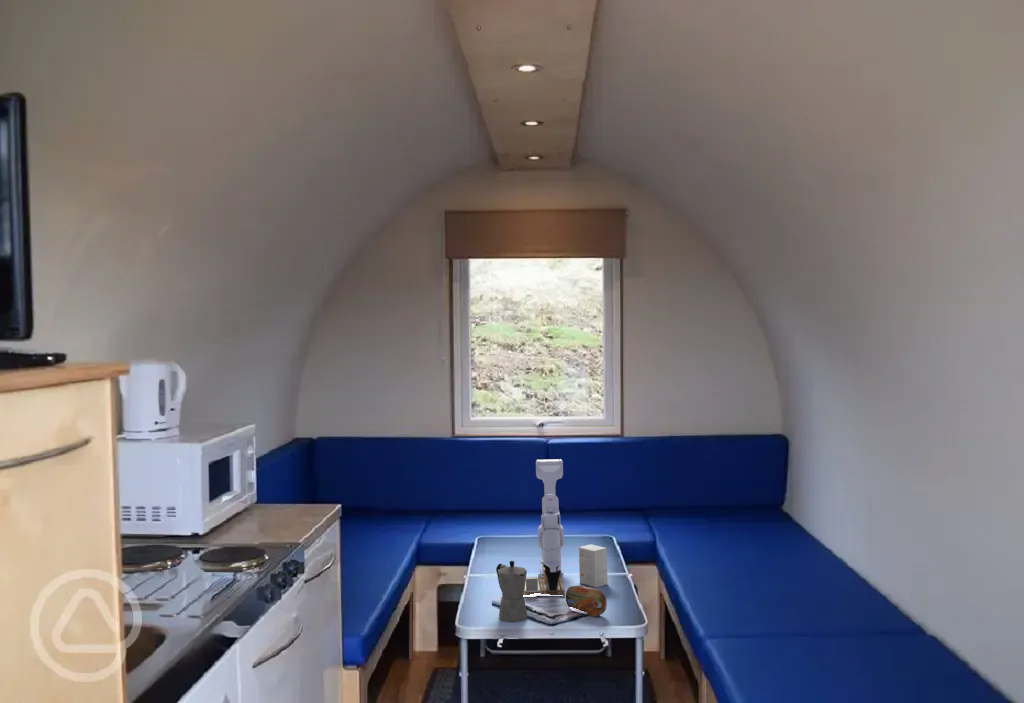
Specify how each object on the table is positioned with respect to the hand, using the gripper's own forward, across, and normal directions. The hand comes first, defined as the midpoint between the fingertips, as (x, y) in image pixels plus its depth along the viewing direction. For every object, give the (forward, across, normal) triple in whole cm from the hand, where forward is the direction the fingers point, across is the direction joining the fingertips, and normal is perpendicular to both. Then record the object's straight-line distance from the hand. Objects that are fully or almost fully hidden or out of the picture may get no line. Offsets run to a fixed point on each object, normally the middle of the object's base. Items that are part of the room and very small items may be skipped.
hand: (552, 587), depth 301 cm
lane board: (+2, -7, -4) cm, 8 cm away
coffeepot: (+2, +22, -14) cm, 26 cm away
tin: (+3, +21, +10) cm, 23 cm away
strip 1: (+1, -6, -7) cm, 10 cm away
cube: (+1, -9, 0) cm, 9 cm away
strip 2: (+1, -6, 0) cm, 7 cm away
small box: (+2, -11, +15) cm, 19 cm away
